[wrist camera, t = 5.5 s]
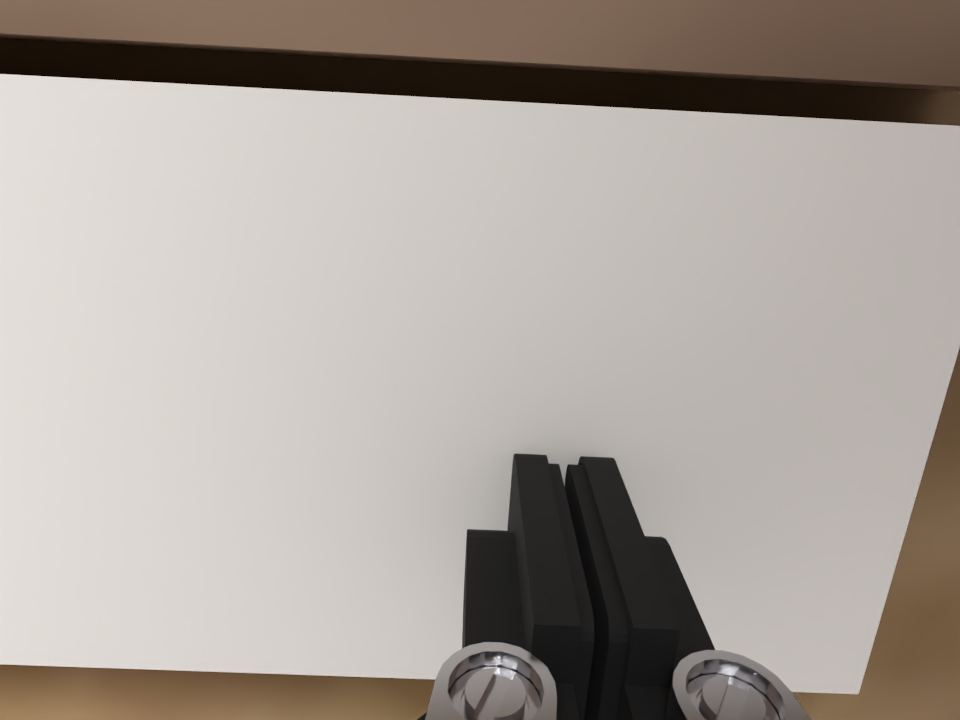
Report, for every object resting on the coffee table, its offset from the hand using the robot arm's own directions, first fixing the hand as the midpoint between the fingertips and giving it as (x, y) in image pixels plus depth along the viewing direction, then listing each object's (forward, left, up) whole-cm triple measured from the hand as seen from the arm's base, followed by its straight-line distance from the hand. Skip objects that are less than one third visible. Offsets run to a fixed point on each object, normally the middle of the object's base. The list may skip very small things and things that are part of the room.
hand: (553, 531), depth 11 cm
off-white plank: (-2, -6, -2) cm, 7 cm away
